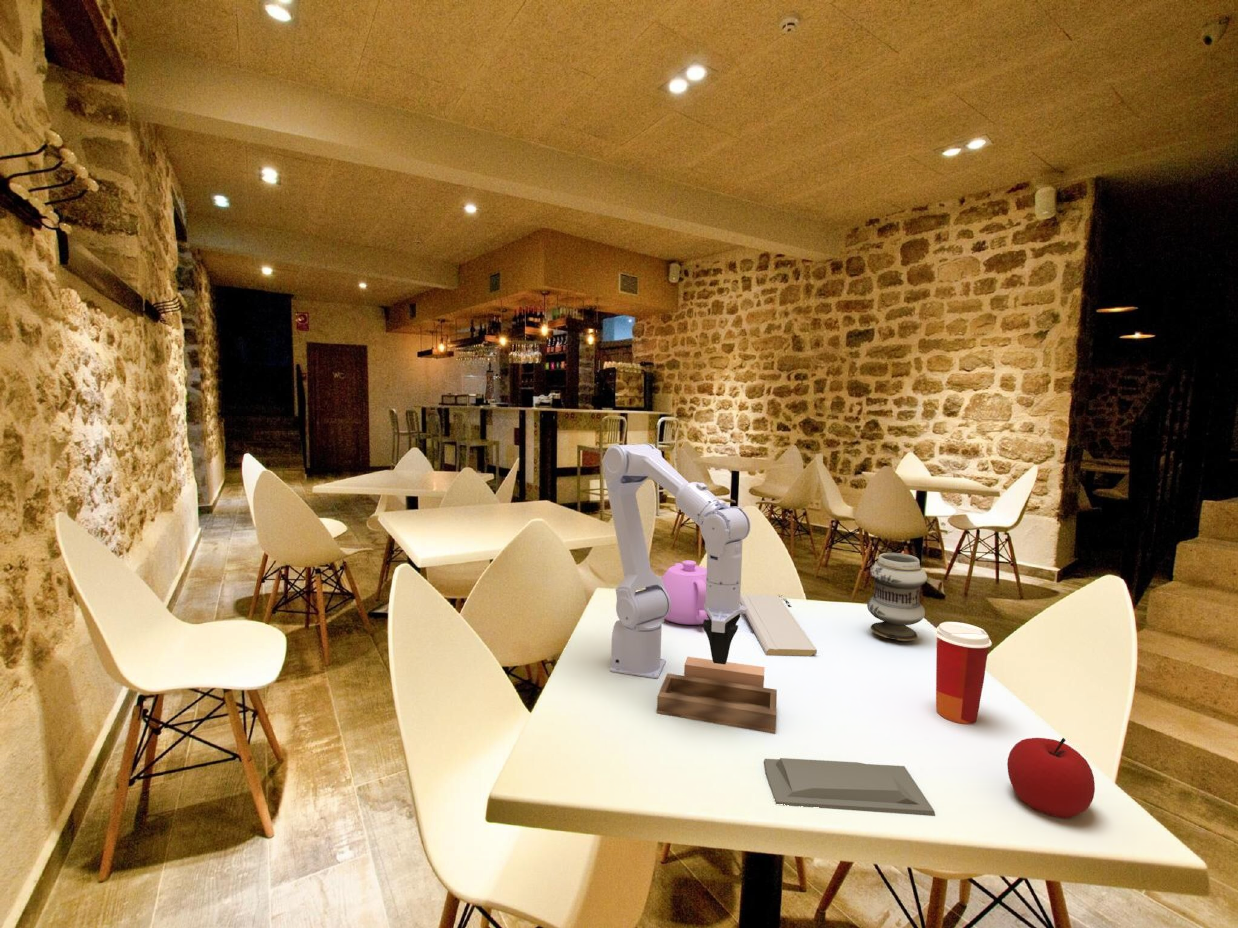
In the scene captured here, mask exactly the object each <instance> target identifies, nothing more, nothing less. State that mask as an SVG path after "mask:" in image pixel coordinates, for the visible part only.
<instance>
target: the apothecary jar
mask: <svg viewBox="0 0 1238 928" xmlns="http://www.w3.org/2000/svg"><path fill="white" fill-rule="evenodd" d="M920 563H921V562H920V559H919V558H918V557H916V556H913V555H911V554H906V553H900V552H899V553H898V552H884V553H881V554H879V556H878V559H877V561H876V562H875V563H873V564H872V565H871V567H870V569H869V573H870V575H871V576H870V577H872V578H873V579H874V589H873V596H871V597H870V598H869V599H868V600H867V604H866V607H867V609H868V612H869V613H870V614H871V615H872V616H873V617H874V618H876V619H878V620H880V621H878V622H875V623H872V624H871V625H870V630H871V631H872V632H873V633H874V634H876V635H877V636H880V637H882V638H886V639H893V640H894V639H895V640H896V641H903V642H904V641H905V642H909V641H914V640H916V639H917V638H918V633H917V632H916V631H915V630H914V629H912V628H911V627H909V626H912V625H915V624H917V623H919V622H921V621H922V620H923V619H924V618H925V615H926V611H925V608H924V606H923V605H922V604H921V603H920V601H921V600H920V599H921V598H920V597H921V594H920V593H921V586H922V585H925V583H927V580H928V575H927V573H926V571H925V570H924V569H923V568H922V567H921V565H920Z"/></svg>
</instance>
